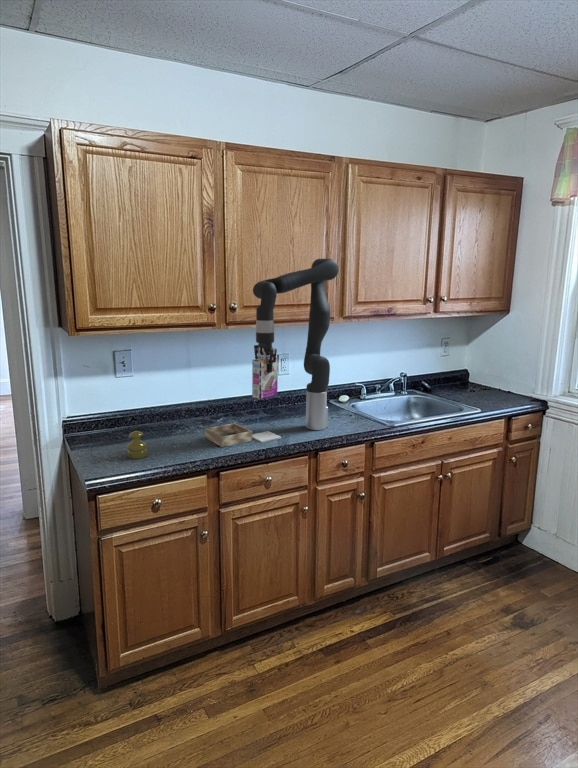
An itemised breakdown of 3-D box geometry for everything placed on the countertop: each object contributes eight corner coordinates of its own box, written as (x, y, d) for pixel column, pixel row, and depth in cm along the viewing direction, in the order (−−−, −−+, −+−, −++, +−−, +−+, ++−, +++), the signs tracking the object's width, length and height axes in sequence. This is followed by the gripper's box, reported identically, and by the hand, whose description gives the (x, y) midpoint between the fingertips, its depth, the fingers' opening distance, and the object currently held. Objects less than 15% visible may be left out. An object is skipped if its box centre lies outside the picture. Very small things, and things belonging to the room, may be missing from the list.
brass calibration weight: (149, 452, 207) (147, 428, 205) (144, 459, 200) (143, 434, 198) (130, 452, 207) (128, 428, 205) (125, 459, 200) (123, 434, 198)
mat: (268, 432, 234) (268, 431, 233) (281, 438, 226) (281, 437, 225) (249, 436, 228) (249, 435, 228) (261, 442, 220) (261, 441, 220)
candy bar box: (260, 400, 217) (260, 361, 213) (251, 398, 220) (251, 359, 217) (278, 395, 226) (278, 357, 222) (269, 393, 229) (269, 356, 225)
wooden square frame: (235, 431, 234) (234, 423, 233) (252, 440, 223) (252, 431, 222) (205, 437, 226) (205, 428, 225) (221, 446, 214) (221, 437, 213)
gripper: (282, 332, 213) (282, 373, 217) (263, 328, 225) (263, 367, 228) (266, 333, 209) (267, 375, 213) (248, 329, 220) (248, 369, 224)
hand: (265, 371), depth 220 cm, fingers closed on candy bar box, 5 cm apart
